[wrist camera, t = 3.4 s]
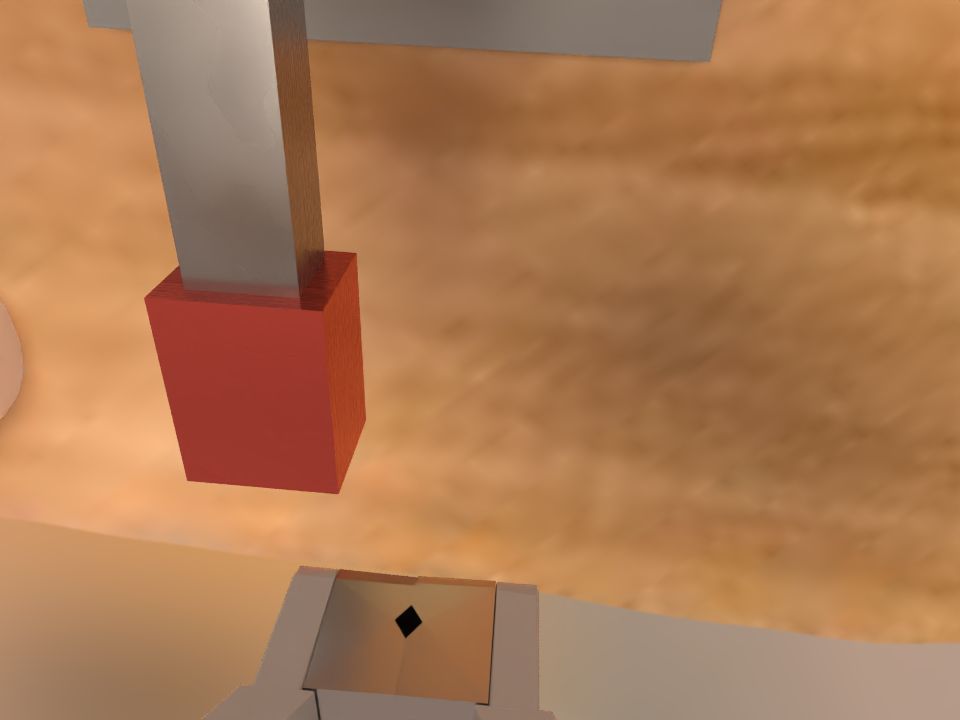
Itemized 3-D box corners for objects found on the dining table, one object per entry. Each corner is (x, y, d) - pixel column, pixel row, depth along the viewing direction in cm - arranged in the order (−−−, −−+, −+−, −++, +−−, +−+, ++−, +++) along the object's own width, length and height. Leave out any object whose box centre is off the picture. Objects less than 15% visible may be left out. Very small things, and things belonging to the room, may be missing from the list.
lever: (46, -515, 9) (-112, -649, 7) (337, -510, 8) (270, -646, 6) (221, 407, 16) (172, 479, 14) (378, 421, 16) (354, 495, 14)
